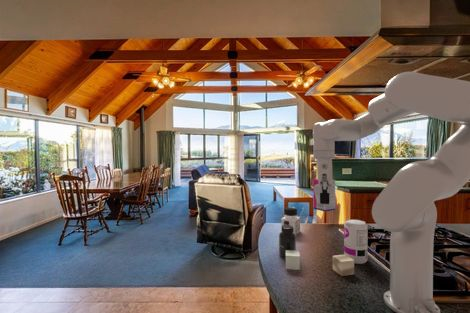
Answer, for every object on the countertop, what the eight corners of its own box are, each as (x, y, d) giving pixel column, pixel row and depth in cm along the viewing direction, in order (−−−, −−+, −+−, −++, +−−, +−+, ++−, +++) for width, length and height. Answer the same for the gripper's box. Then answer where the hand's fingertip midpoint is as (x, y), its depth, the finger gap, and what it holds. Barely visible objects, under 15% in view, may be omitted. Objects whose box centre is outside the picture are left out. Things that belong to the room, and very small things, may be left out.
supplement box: (336, 209, 92) (335, 179, 92) (324, 211, 90) (324, 180, 89) (324, 206, 98) (323, 178, 97) (312, 208, 95) (312, 179, 95)
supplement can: (344, 262, 94) (344, 223, 94) (343, 254, 102) (343, 218, 102) (368, 266, 91) (368, 225, 91) (365, 257, 99) (365, 219, 99)
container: (295, 235, 125) (295, 210, 125) (281, 233, 129) (280, 208, 129) (300, 231, 132) (300, 207, 131) (286, 229, 136) (286, 205, 136)
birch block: (354, 274, 86) (354, 260, 86) (341, 276, 85) (341, 261, 84) (344, 267, 91) (344, 254, 90) (332, 269, 89) (332, 255, 89)
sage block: (299, 270, 89) (299, 256, 89) (285, 268, 90) (285, 255, 90) (299, 263, 94) (299, 250, 94) (285, 262, 95) (285, 250, 95)
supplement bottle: (276, 257, 100) (276, 227, 100) (281, 250, 106) (281, 223, 106) (293, 260, 97) (293, 230, 97) (297, 253, 103) (297, 225, 103)
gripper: (336, 155, 84) (336, 206, 84) (333, 154, 100) (333, 197, 101) (313, 155, 86) (313, 205, 87) (313, 154, 103) (314, 196, 103)
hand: (324, 201), depth 94 cm, fingers closed on supplement box, 8 cm apart
